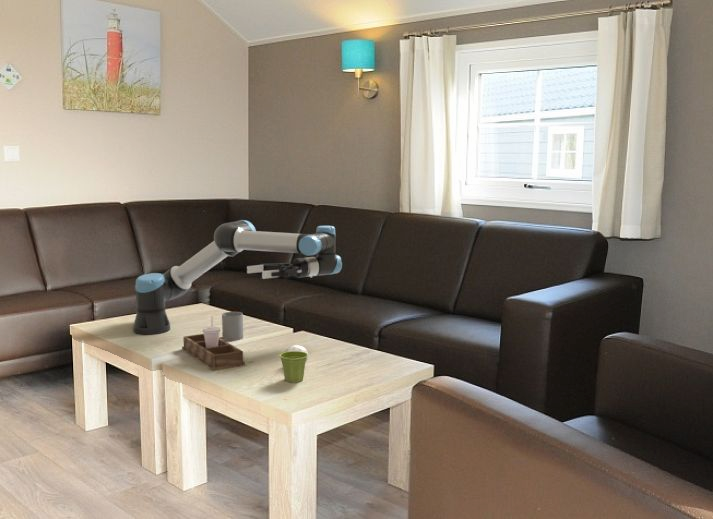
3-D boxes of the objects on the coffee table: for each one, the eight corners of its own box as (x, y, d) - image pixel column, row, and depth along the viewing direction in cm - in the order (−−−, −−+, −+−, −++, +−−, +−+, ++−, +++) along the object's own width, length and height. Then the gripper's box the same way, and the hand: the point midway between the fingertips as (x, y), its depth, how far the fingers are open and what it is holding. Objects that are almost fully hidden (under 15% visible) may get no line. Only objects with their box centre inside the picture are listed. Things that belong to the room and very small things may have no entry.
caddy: (182, 349, 280) (181, 336, 279) (211, 344, 286) (211, 332, 285) (213, 370, 253) (212, 356, 252) (245, 365, 259) (244, 351, 258)
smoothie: (224, 352, 271) (223, 315, 269) (215, 357, 265) (214, 319, 263) (209, 350, 273) (207, 314, 271) (200, 355, 267) (198, 318, 265)
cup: (238, 341, 291) (238, 316, 289) (219, 340, 293) (218, 315, 291) (246, 335, 299) (245, 312, 298) (227, 334, 301) (226, 311, 299)
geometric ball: (291, 374, 257) (277, 357, 256) (302, 361, 264) (288, 344, 262) (305, 368, 253) (291, 350, 251) (316, 354, 259) (302, 337, 258)
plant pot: (280, 375, 247) (279, 351, 246) (307, 375, 248) (307, 350, 247) (279, 384, 238) (279, 359, 237) (308, 384, 239) (308, 358, 237)
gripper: (320, 281, 276) (269, 287, 264) (290, 272, 296) (241, 277, 285) (320, 262, 274) (269, 267, 263) (289, 253, 295) (241, 258, 284)
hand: (254, 272), depth 274 cm, fingers open, 13 cm apart
